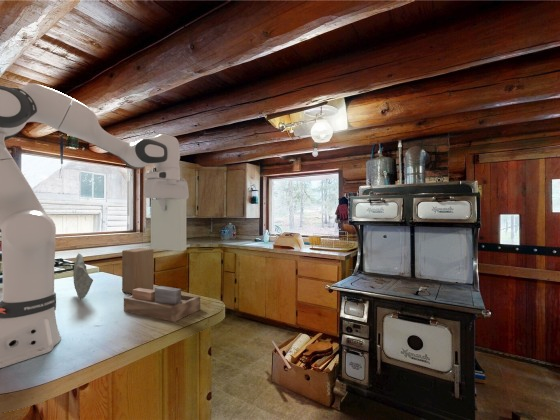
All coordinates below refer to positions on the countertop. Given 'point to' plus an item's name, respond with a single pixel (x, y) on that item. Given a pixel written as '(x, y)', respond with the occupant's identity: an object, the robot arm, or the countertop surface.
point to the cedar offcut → (144, 294)
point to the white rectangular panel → (168, 225)
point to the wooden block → (137, 269)
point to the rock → (81, 277)
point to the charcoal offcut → (168, 295)
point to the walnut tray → (163, 307)
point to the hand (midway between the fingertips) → (168, 210)
